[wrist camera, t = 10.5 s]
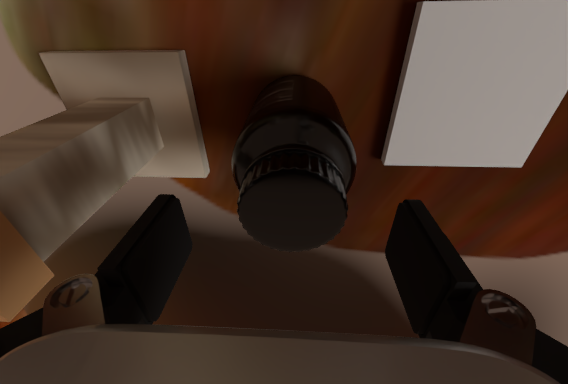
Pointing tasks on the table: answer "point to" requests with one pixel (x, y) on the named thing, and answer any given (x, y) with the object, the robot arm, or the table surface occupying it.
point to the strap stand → (99, 139)
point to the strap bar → (18, 271)
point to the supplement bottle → (293, 166)
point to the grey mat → (478, 82)
